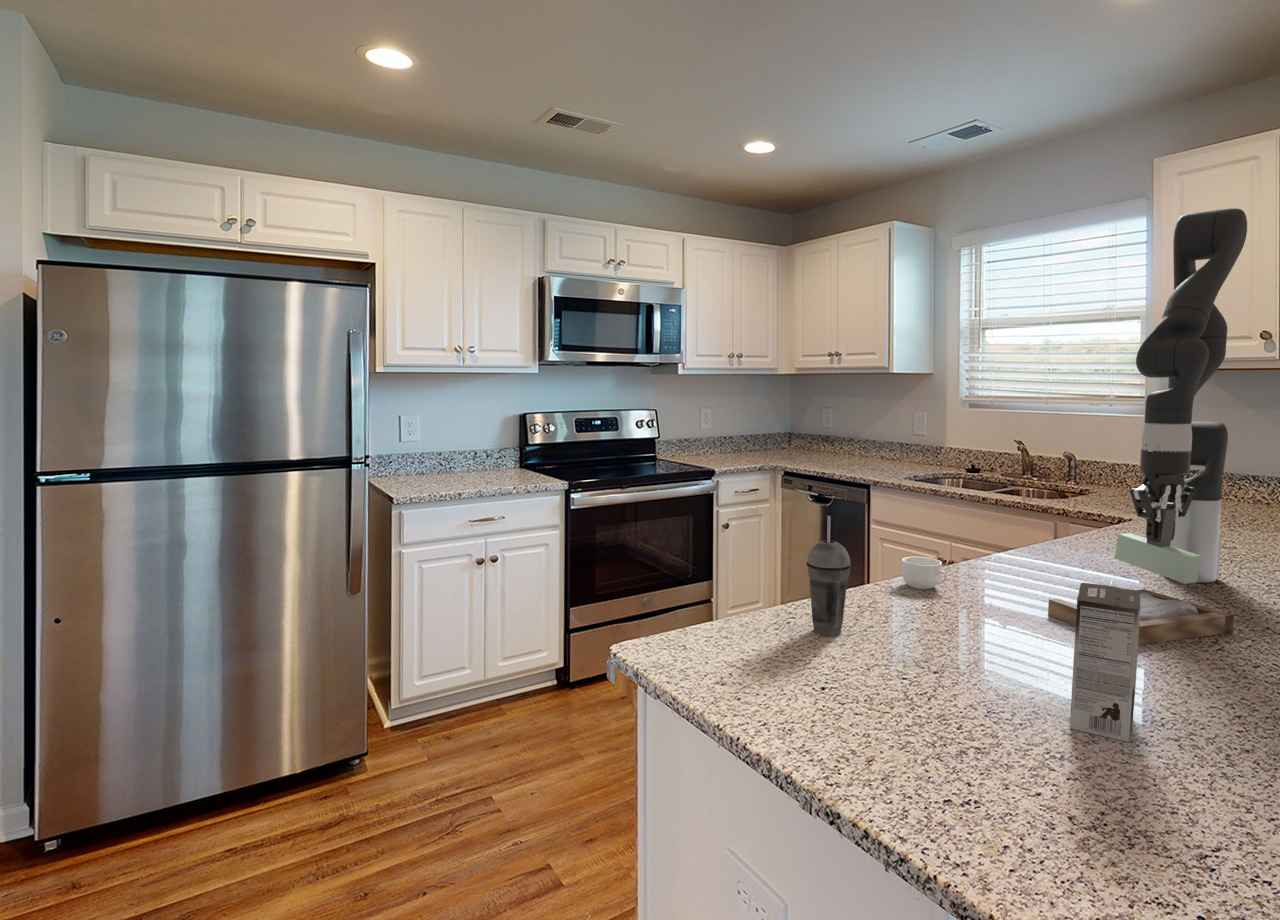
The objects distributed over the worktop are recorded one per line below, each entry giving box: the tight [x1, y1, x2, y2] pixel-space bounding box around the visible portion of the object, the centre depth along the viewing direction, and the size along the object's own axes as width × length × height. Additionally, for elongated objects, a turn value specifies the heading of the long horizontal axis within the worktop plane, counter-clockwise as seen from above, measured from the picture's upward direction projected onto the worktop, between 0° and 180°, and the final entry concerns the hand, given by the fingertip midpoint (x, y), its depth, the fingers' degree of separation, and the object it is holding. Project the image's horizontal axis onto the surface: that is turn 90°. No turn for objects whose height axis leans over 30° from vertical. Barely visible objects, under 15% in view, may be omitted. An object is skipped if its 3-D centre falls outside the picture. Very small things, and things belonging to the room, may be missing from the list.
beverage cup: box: [806, 515, 852, 637], centre depth 122 cm, size 7×7×20 cm
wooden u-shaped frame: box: [1047, 588, 1235, 646], centre depth 125 cm, size 22×16×3 cm
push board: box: [1114, 507, 1202, 584], centre depth 136 cm, size 14×3×12 cm, turn 16°
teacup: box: [901, 556, 948, 590], centre depth 149 cm, size 10×8×5 cm
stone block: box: [1140, 593, 1199, 621], centre depth 128 cm, size 12×5×10 cm
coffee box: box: [1069, 582, 1140, 743], centre depth 89 cm, size 9×6×16 cm
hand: (1159, 539), depth 136 cm, fingers closed on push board, 2 cm apart
